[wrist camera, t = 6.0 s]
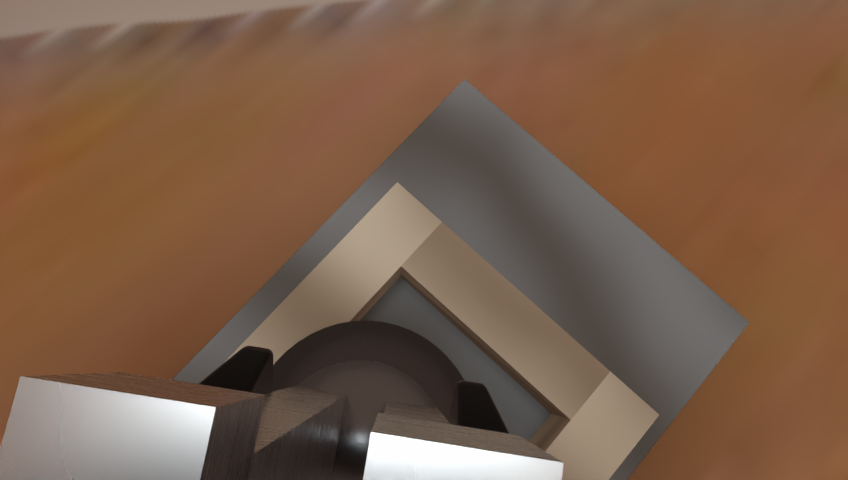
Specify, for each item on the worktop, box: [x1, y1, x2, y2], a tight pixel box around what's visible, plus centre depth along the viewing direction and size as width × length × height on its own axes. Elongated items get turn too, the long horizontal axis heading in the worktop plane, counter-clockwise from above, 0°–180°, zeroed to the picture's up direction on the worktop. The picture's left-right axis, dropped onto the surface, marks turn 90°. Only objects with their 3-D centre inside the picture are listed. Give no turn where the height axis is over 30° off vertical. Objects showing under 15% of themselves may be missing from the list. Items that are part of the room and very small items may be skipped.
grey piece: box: [0, 321, 564, 480], centre depth 9 cm, size 5×5×13 cm
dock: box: [173, 79, 749, 480], centre depth 21 cm, size 22×14×4 cm, turn 138°
